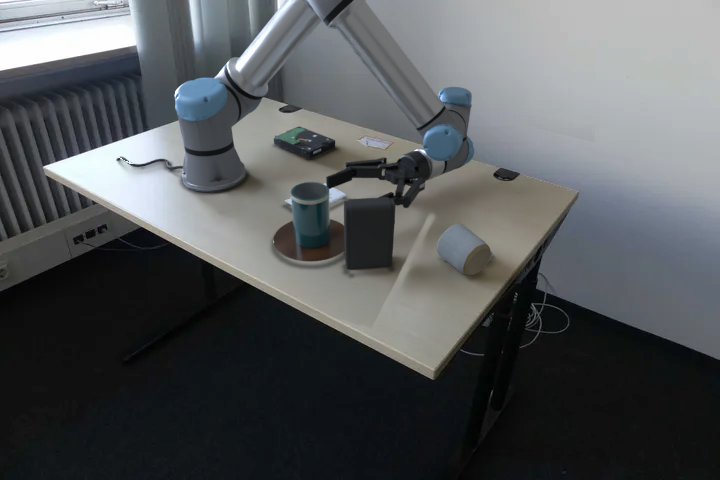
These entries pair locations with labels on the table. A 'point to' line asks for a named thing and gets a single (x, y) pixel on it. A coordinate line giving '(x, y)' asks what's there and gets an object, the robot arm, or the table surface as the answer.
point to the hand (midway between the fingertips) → (346, 195)
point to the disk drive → (304, 142)
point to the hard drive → (333, 196)
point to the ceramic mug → (464, 249)
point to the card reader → (369, 232)
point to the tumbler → (311, 214)
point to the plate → (294, 251)
